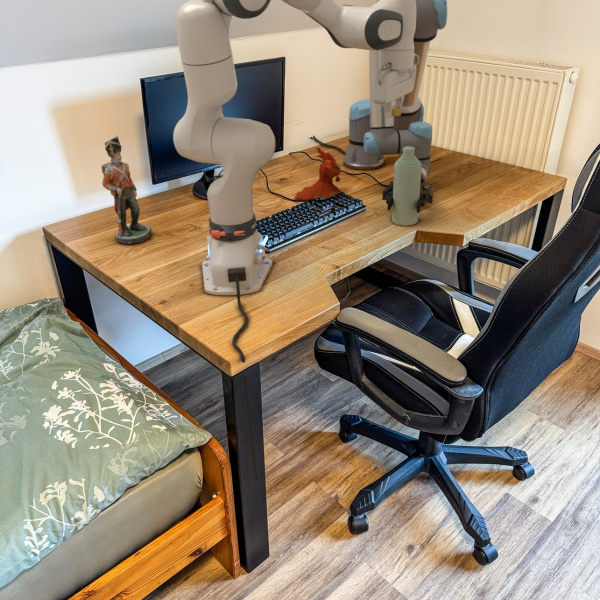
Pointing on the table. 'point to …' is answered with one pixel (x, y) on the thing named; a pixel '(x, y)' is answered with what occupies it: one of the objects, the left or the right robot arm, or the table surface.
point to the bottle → (406, 188)
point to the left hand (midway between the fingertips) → (392, 115)
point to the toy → (323, 179)
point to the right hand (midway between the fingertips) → (403, 207)
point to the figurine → (123, 195)
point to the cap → (396, 110)
